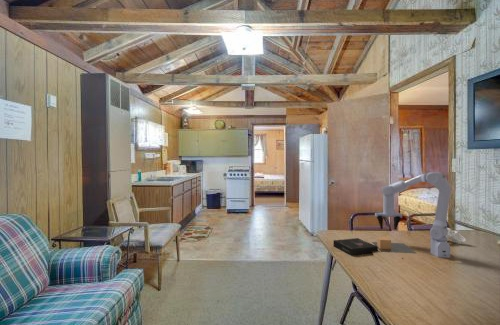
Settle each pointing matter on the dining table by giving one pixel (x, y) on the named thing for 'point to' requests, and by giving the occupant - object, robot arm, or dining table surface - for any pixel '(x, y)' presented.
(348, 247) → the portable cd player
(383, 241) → the tan wooden block
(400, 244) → the base plate
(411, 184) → the robot arm
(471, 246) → the dining table surface
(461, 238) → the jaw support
